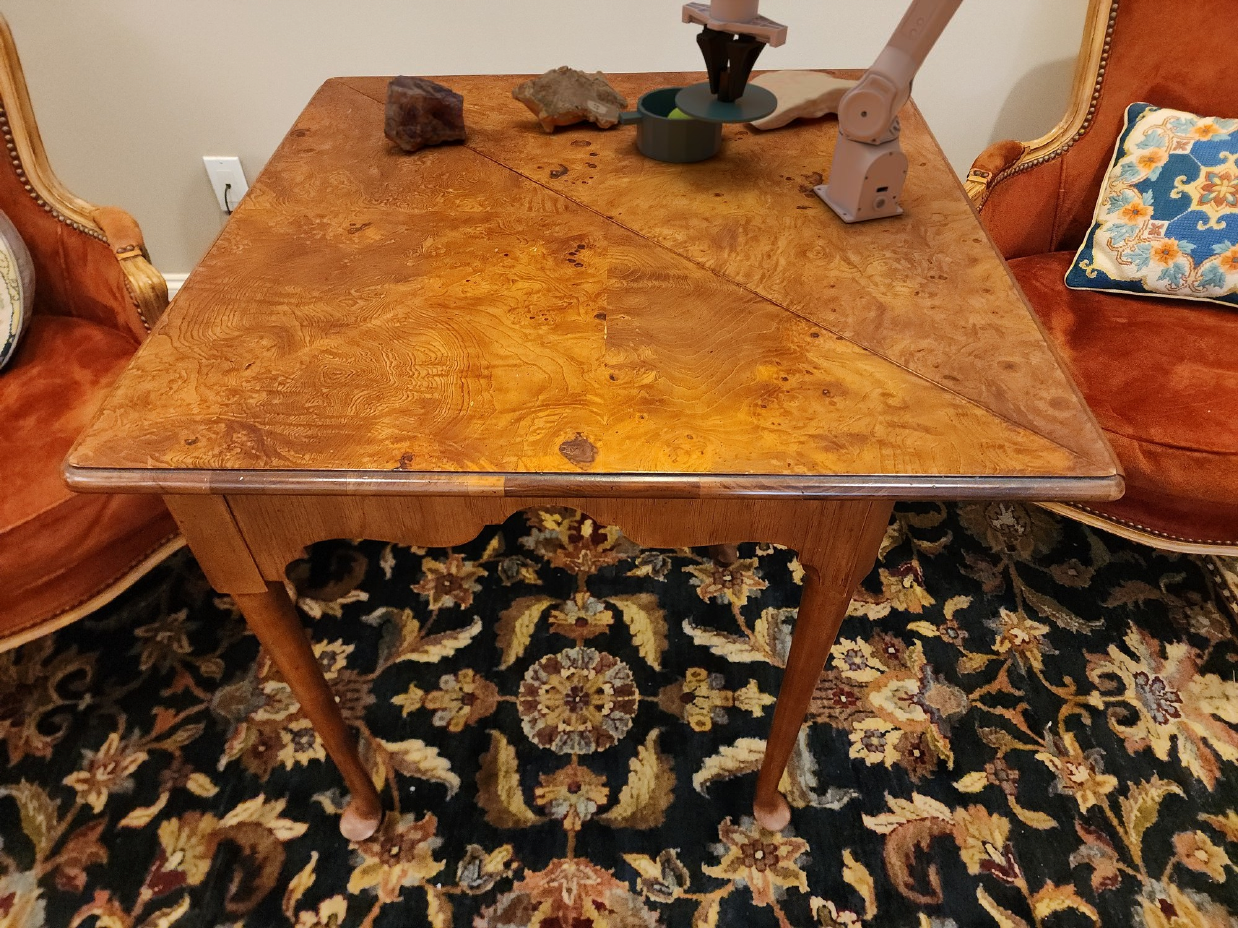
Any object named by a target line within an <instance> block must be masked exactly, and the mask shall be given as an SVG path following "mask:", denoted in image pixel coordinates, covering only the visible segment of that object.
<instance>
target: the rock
mask: <svg viewBox="0 0 1238 928" xmlns="http://www.w3.org/2000/svg"><path fill="white" fill-rule="evenodd" d="M464 98H465V97H464V95H463V94H460V93H457V92H454V91H453V89H452V88H448V87H446V86H444V85H442V84H440V83H436V82H435V81H433V80H430V79H425V78H421V77H417V76H407V75H402V74H399V75H398V76H397V77H394V78H393V79H392V80H390V81H388V83H387V89H386V98H385V102H384V103H385V105H384V108H385V109H384V118H385V119H384V128H383V134H384V138H385V139H387V140H388V141H390V142H392V143H394V144H396V146H398V147H400V148H402V150H403V151H410V152H415V151H417V150H418V149H419V148H422V147H424V146H425V145H431V146H435V145H439V144H441V143H442V142H444V141H447V142H454V141H461V140H465V139H466V138H467V130H466V124H465V119H464V114H463V113H464Z"/></svg>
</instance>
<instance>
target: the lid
mask: <svg viewBox="0 0 1238 928" xmlns="http://www.w3.org/2000/svg"><path fill="white" fill-rule="evenodd" d="M729 77H730V67H729V65H728V66H726V67H722V68H720V69H719V80H718V92H717V94H715V95H714V94H711V90H710V84H709V81H703V82H698V83H694V84H691V85H688V86H685V87H686V88H684V89H682V90H681V91H679V92H678V94H677V95H676V98H675V104H676V107H677V108H678V109H679V110H680V111H681V112H682V113H684V114H685V115H687V116H689V117H692V118H695V119H698V120H702V121H706V122H712V123H723V124H725V125H727V124H728V125H735V124H737V125H738V124H747V123H749V122H753V121H757V120H760V119H763V118H766V117H768V116H769V115H771V114H772V113H774V111H775V110H776V108H777V103H778V101H777V98H776V96H775V95H774V94H773V93H772V92H770V91H769V90H767V89H765V88H763V87H760V86H757V85H754V84H749V82H747V83H746V86H745V90H744V93H743V96H742V97H741V98H739V99H736V100H734V101H732V100H729V93H728V90H729Z"/></svg>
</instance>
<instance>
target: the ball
mask: <svg viewBox="0 0 1238 928" xmlns="http://www.w3.org/2000/svg"><path fill="white" fill-rule="evenodd" d="M668 118H675V119H689V118H692V117H689V116H687V115H685V114H684V113H682V112H681V111H680V110H679V109H678V108H676V109H674V110H673V111H672V112H671V113H670V114H669V116H668Z"/></svg>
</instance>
